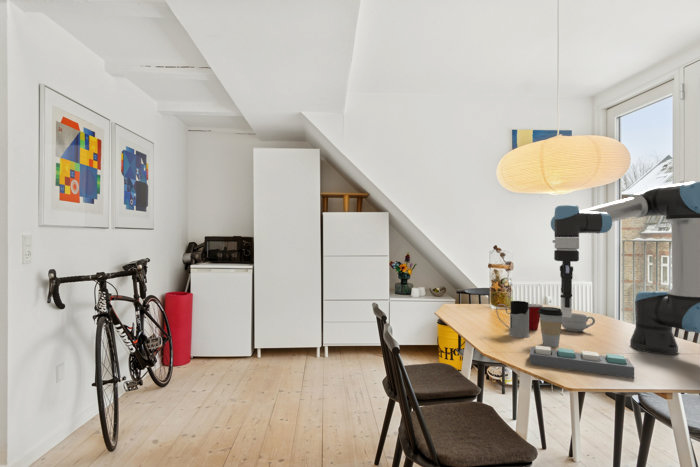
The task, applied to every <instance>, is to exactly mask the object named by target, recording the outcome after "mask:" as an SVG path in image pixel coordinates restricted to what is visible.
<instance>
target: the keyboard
mask: <svg viewBox="0 0 700 467" xmlns="http://www.w3.org/2000/svg"><path fill="white" fill-rule="evenodd" d="M574 353H575V358H570V357H562V356H558V349H551V355H546V354H537V353H536V347H534V346H533V347H532V346H531V347H530V350H529V365H533V366H538V367H539V366H540V367H547V368H555V369H561V370H569V371H576V372H577V371H578V372H584V373H585V372H586V373H591V374H598V375H606V376H613V377H619V378H620V377H622V378H627V379H628V378H629V379H635V366H634V365H633V364H632V362H631V360H630V359H629V358H627V357H626V358H625V357H624V358H625V359H626V364H618V363H610V362H607V361H606V355H603V354H602V355H600V354H599V356H600V361H594V360H586V359H582V352H575V351H574Z"/></svg>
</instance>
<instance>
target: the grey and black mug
mask: <svg viewBox="0 0 700 467" xmlns="http://www.w3.org/2000/svg"><path fill="white" fill-rule="evenodd" d="M529 304H530V303H529V302H528V301H522V300H510V313H509V312H508V309H507V306H506V305H505V304H502V303H499V304H498V305H497V306H496V307H495V308H496V309H495V310H496V311H495V312H496V315H497V318H498V319H499V321H500V322H501V323H502V324H503V325H504V326H506V328H508V330H509V333H508V335H509V336H510V337H512V338H518V337H519V339H527V338H530V337H531V336H530V330H529ZM499 306H503V307H504V308H505V313H506V314H507V315H509V326H508V325H507V324H506V323H505V322H504V321H502V320H501V318H500V316H499V313H498V307H499Z"/></svg>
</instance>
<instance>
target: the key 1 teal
mask: <svg viewBox="0 0 700 467" xmlns="http://www.w3.org/2000/svg"><path fill="white" fill-rule="evenodd" d="M605 356H606V361H607V362H610V363H618V364H626V359H625V355H624V354H623V355H622V354H616V353H615V354H613V353H605Z"/></svg>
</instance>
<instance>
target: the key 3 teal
mask: <svg viewBox="0 0 700 467" xmlns="http://www.w3.org/2000/svg"><path fill="white" fill-rule="evenodd" d="M557 350H558V356H562V357H570V358H575V353H574V352H575V351H574V349H569V348H562V347H560V348H559V347H558V348H557Z"/></svg>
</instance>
